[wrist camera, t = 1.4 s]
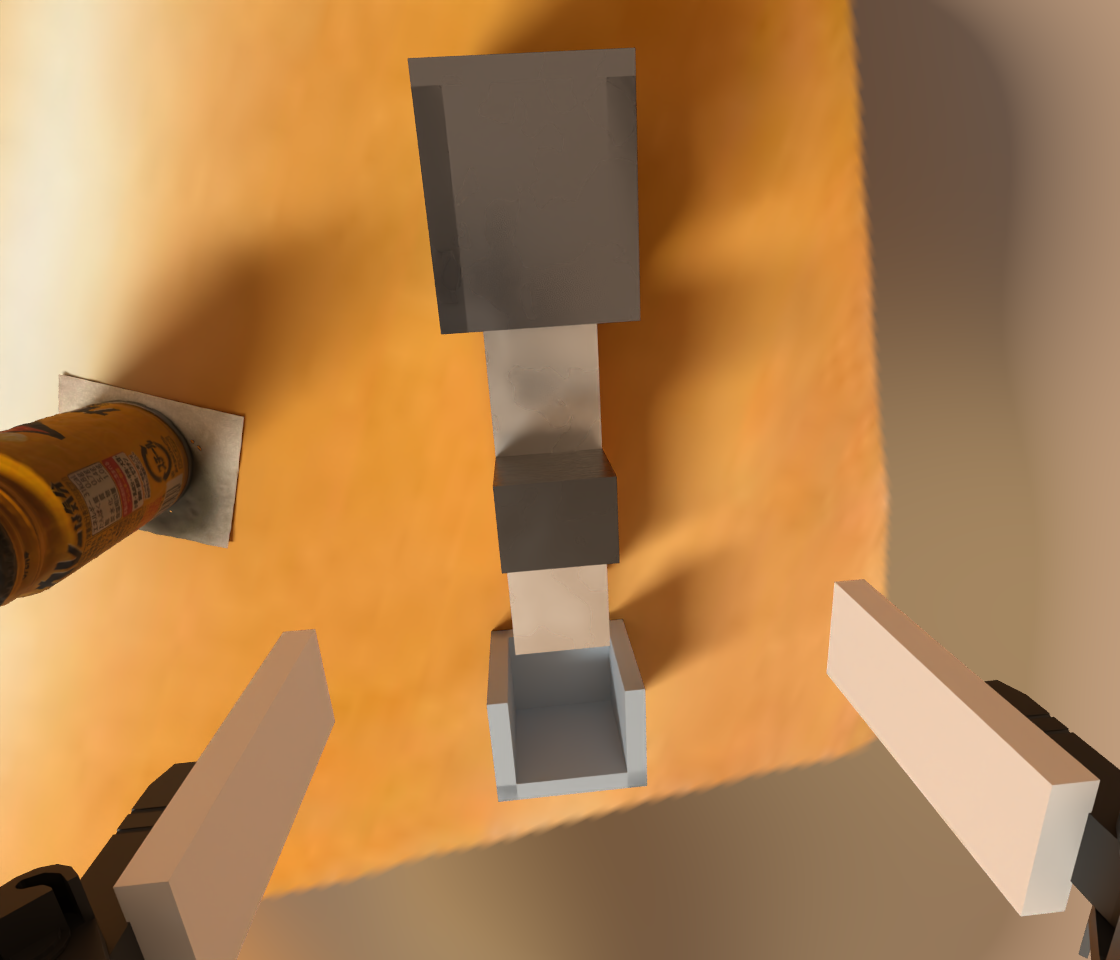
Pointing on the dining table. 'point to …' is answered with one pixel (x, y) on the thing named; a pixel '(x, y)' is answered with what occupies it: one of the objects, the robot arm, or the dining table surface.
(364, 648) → the dining table surface
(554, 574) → the light gray bar
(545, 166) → the sleeve
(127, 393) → the yellow drink bottle
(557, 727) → the socket
